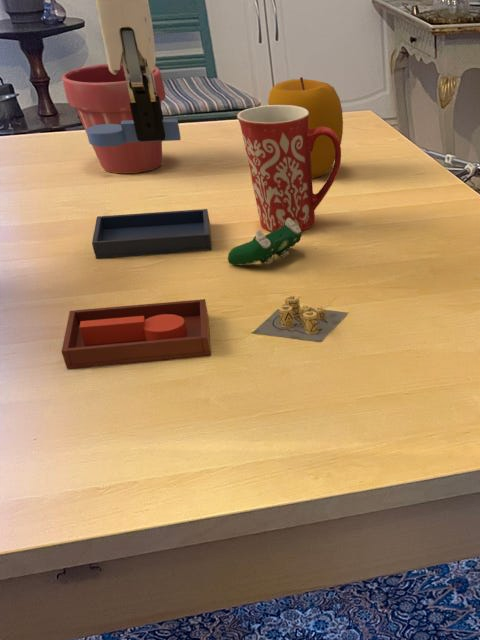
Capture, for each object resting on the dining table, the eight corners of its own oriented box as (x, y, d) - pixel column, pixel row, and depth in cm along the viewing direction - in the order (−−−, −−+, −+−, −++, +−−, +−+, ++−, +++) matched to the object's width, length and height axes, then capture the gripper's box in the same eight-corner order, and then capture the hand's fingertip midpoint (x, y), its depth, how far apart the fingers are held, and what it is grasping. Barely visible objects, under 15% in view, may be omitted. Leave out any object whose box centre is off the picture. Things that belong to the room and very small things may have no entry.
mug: (246, 235, 123) (229, 121, 114) (260, 212, 130) (245, 103, 121) (342, 237, 123) (332, 123, 114) (351, 214, 130) (342, 105, 121)
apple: (362, 173, 144) (355, 77, 136) (306, 188, 138) (296, 89, 130) (316, 159, 150) (307, 66, 141) (261, 173, 144) (248, 77, 135)
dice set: (315, 335, 101) (313, 317, 99) (271, 329, 102) (269, 312, 100) (333, 316, 104) (331, 299, 103) (291, 311, 105) (289, 294, 104)
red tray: (66, 369, 94) (61, 351, 93) (74, 327, 102) (69, 310, 100) (210, 355, 97) (207, 337, 96) (208, 315, 104) (205, 298, 103)
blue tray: (95, 258, 117) (91, 243, 116) (100, 231, 124) (96, 216, 123) (212, 249, 119) (209, 234, 118) (209, 223, 127) (207, 208, 125)
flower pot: (73, 161, 148) (49, 68, 139) (160, 148, 154) (142, 58, 145) (100, 184, 139) (76, 86, 130) (191, 170, 145) (174, 75, 136)
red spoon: (83, 351, 96) (78, 332, 95) (86, 333, 100) (81, 315, 98) (187, 341, 98) (183, 323, 97) (186, 324, 101) (183, 306, 100)
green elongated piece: (242, 284, 116) (264, 256, 111) (222, 257, 115) (243, 228, 110) (291, 261, 121) (313, 233, 117) (272, 235, 121) (294, 207, 116)
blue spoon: (180, 133, 113) (177, 115, 112) (180, 143, 110) (177, 124, 109) (90, 137, 111) (86, 118, 110) (87, 147, 108) (83, 128, 107)
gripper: (80, -63, 104) (122, 122, 116) (68, -46, 92) (115, 157, 105) (151, -64, 105) (184, 119, 117) (147, -47, 94) (184, 154, 106)
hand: (152, 136), depth 111 cm, fingers closed on blue spoon, 1 cm apart
